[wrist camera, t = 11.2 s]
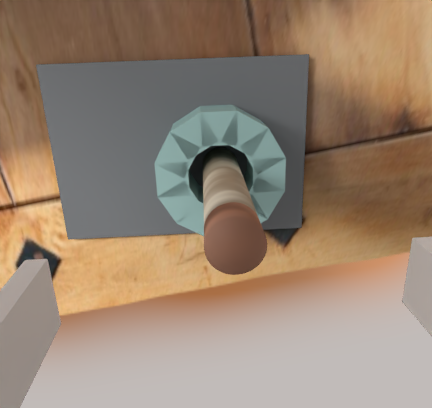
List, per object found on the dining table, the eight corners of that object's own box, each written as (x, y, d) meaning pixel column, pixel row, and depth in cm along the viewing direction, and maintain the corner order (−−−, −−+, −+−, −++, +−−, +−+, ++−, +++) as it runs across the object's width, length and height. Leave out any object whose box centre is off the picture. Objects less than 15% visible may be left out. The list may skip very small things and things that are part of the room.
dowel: (202, 181, 32) (203, 274, 18) (203, 147, 31) (205, 217, 17) (236, 181, 32) (264, 274, 18) (238, 148, 31) (269, 218, 17)
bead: (165, 219, 33) (161, 239, 29) (155, 107, 30) (149, 114, 26) (274, 214, 33) (284, 233, 29) (276, 102, 30) (287, 108, 26)
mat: (70, 236, 34) (68, 239, 33) (39, 64, 29) (36, 64, 28) (299, 225, 34) (301, 227, 34) (306, 54, 29) (308, 54, 29)
